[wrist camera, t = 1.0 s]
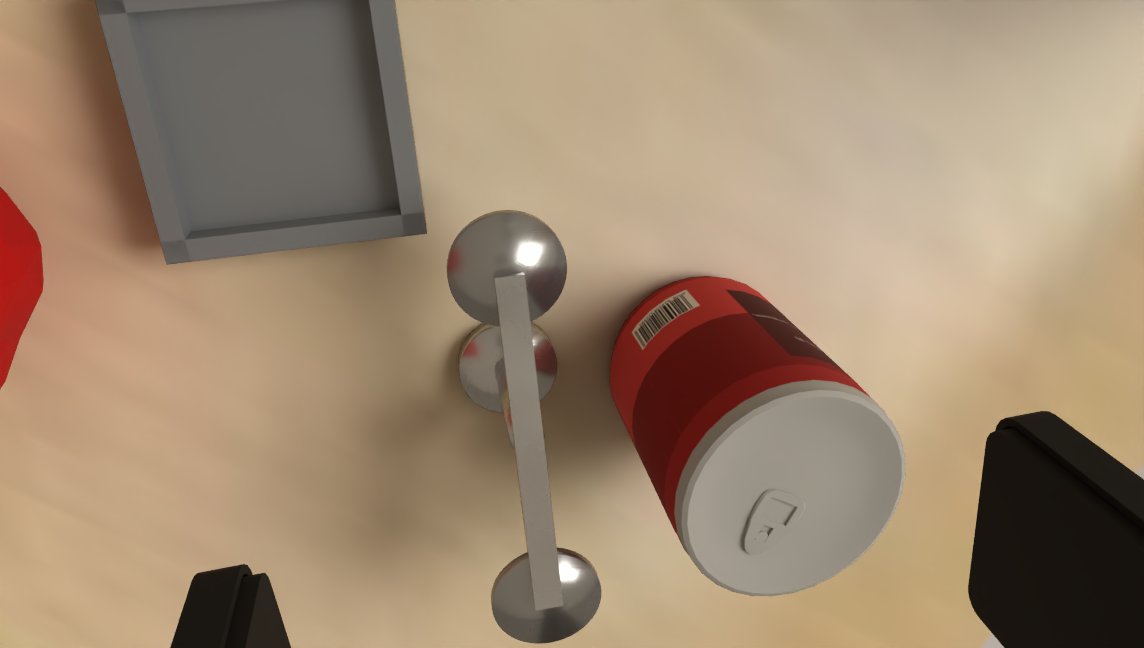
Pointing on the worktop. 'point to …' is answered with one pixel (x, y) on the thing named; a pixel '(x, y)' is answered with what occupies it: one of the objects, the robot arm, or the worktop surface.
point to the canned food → (753, 438)
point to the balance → (521, 408)
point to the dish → (267, 122)
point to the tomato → (16, 278)
